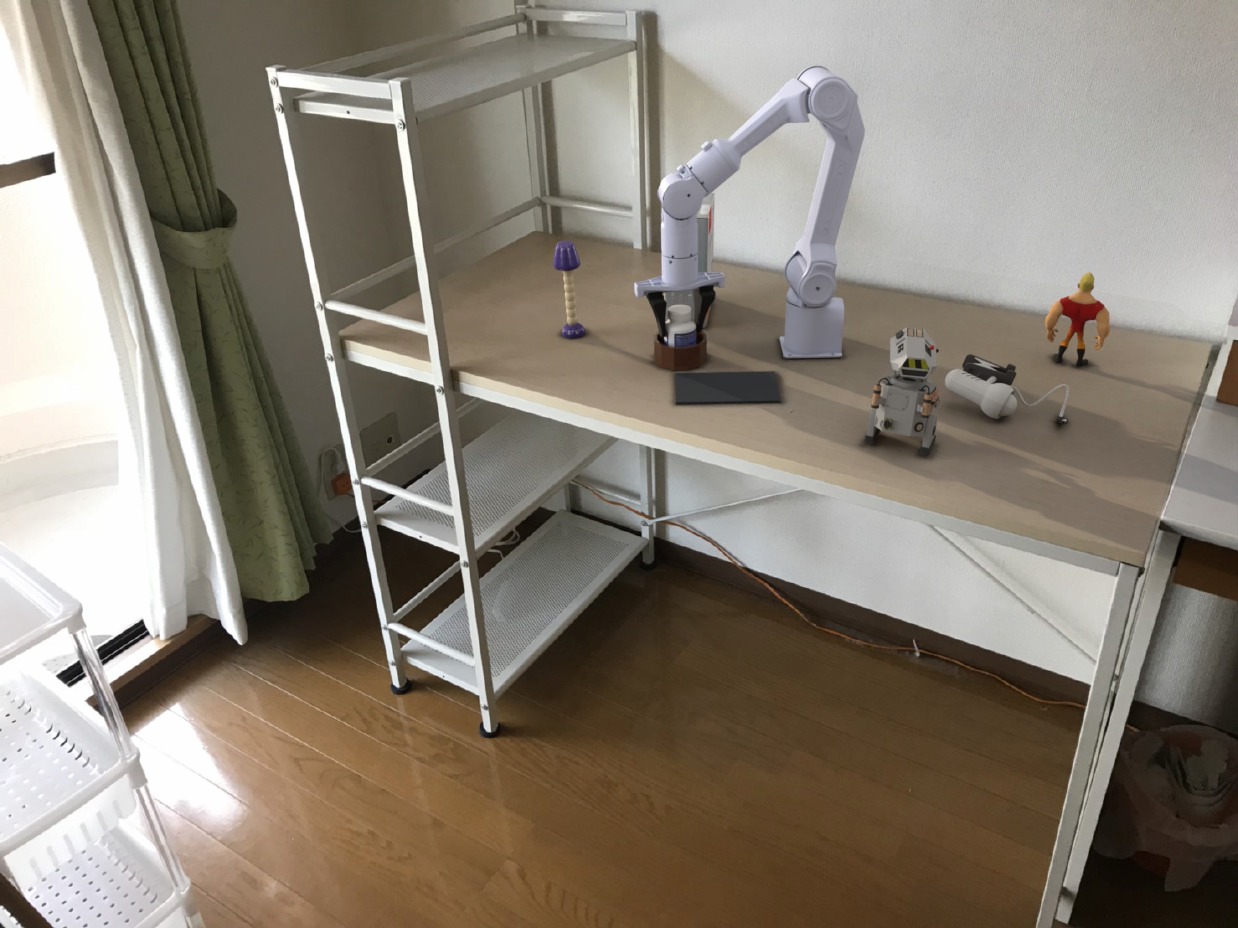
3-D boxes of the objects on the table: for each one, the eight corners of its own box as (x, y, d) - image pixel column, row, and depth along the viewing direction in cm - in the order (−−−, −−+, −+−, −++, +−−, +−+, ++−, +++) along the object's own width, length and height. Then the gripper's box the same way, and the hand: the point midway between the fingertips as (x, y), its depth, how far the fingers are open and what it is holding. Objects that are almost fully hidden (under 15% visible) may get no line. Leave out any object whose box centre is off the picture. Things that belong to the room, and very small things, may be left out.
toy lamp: (581, 340, 173) (575, 248, 164) (555, 339, 174) (548, 247, 165) (587, 329, 177) (582, 238, 168) (562, 328, 178) (555, 237, 169)
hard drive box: (707, 329, 175) (708, 218, 165) (663, 328, 176) (662, 218, 166) (713, 295, 188) (715, 191, 178) (673, 295, 189) (672, 190, 179)
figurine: (944, 425, 143) (958, 329, 135) (925, 463, 134) (939, 363, 127) (881, 413, 147) (892, 319, 139) (859, 449, 138) (869, 351, 130)
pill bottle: (702, 356, 166) (702, 306, 161) (686, 368, 162) (685, 318, 157) (675, 349, 168) (674, 300, 164) (658, 361, 165) (657, 311, 160)
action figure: (1103, 363, 158) (1124, 273, 150) (1099, 372, 155) (1121, 281, 147) (1040, 352, 162) (1058, 264, 154) (1036, 361, 159) (1053, 272, 152)
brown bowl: (705, 347, 169) (705, 325, 167) (707, 369, 161) (707, 347, 159) (654, 348, 169) (654, 326, 167) (654, 370, 162) (653, 348, 160)
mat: (774, 373, 159) (774, 371, 159) (780, 402, 151) (781, 400, 151) (674, 375, 160) (674, 373, 160) (675, 404, 152) (675, 402, 151)
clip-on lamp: (1071, 425, 147) (960, 372, 155) (1091, 389, 144) (976, 336, 151) (1049, 453, 139) (932, 395, 146) (1069, 415, 135) (949, 358, 143)
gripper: (716, 239, 160) (715, 317, 167) (628, 249, 158) (631, 328, 165) (729, 253, 154) (728, 334, 161) (639, 264, 152) (641, 345, 159)
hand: (680, 332), depth 163 cm, fingers open, 5 cm apart
